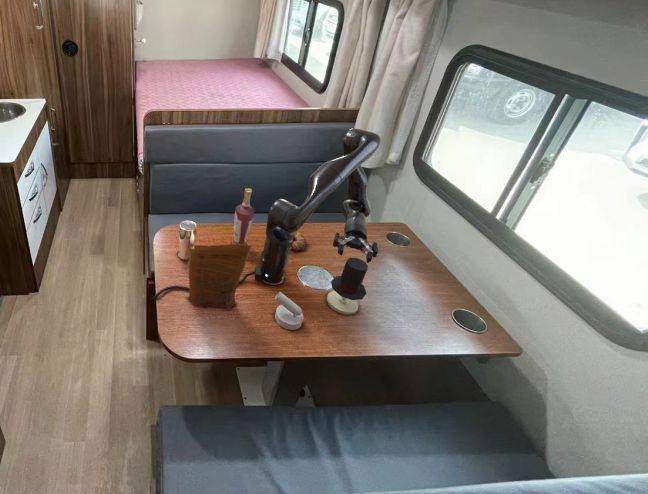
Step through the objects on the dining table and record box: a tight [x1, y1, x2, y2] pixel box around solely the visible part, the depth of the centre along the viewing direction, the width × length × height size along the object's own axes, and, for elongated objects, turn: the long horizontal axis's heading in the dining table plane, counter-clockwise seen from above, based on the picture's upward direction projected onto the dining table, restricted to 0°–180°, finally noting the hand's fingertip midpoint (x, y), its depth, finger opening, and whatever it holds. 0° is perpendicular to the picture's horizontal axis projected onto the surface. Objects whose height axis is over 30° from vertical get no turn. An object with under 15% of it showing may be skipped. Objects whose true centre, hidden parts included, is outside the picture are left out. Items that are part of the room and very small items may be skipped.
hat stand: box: [326, 290, 359, 316], centre depth 133 cm, size 10×10×18 cm
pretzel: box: [291, 231, 308, 252], centre depth 164 cm, size 12×11×4 cm
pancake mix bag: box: [187, 244, 252, 310], centre depth 130 cm, size 7×19×28 cm, turn 83°
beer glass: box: [177, 220, 198, 261], centre depth 154 cm, size 7×7×15 cm
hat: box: [330, 257, 369, 301], centre depth 131 cm, size 11×11×11 cm
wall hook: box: [274, 291, 304, 331], centre depth 129 cm, size 9×10×10 cm
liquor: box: [230, 187, 256, 245], centre depth 156 cm, size 7×7×28 cm
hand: (354, 257), depth 136 cm, fingers open, 8 cm apart
